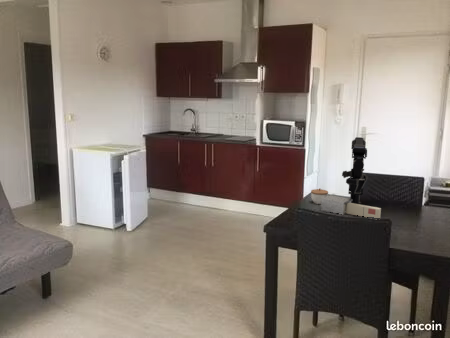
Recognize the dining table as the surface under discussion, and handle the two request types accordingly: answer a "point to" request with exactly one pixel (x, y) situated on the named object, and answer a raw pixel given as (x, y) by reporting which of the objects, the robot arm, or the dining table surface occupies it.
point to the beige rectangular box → (363, 210)
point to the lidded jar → (318, 195)
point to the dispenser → (334, 204)
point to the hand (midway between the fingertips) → (356, 193)
